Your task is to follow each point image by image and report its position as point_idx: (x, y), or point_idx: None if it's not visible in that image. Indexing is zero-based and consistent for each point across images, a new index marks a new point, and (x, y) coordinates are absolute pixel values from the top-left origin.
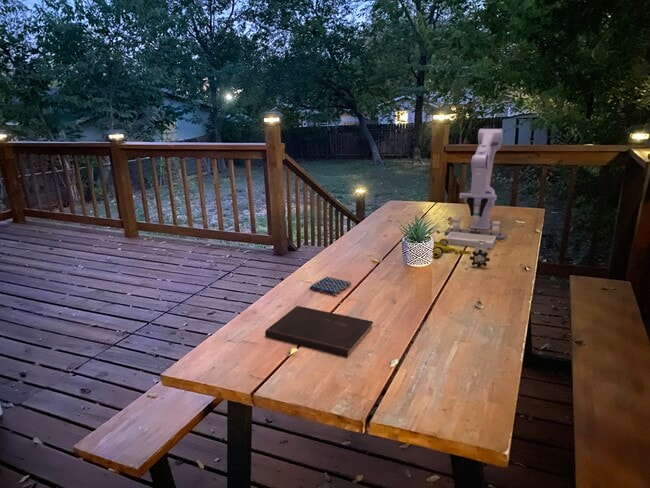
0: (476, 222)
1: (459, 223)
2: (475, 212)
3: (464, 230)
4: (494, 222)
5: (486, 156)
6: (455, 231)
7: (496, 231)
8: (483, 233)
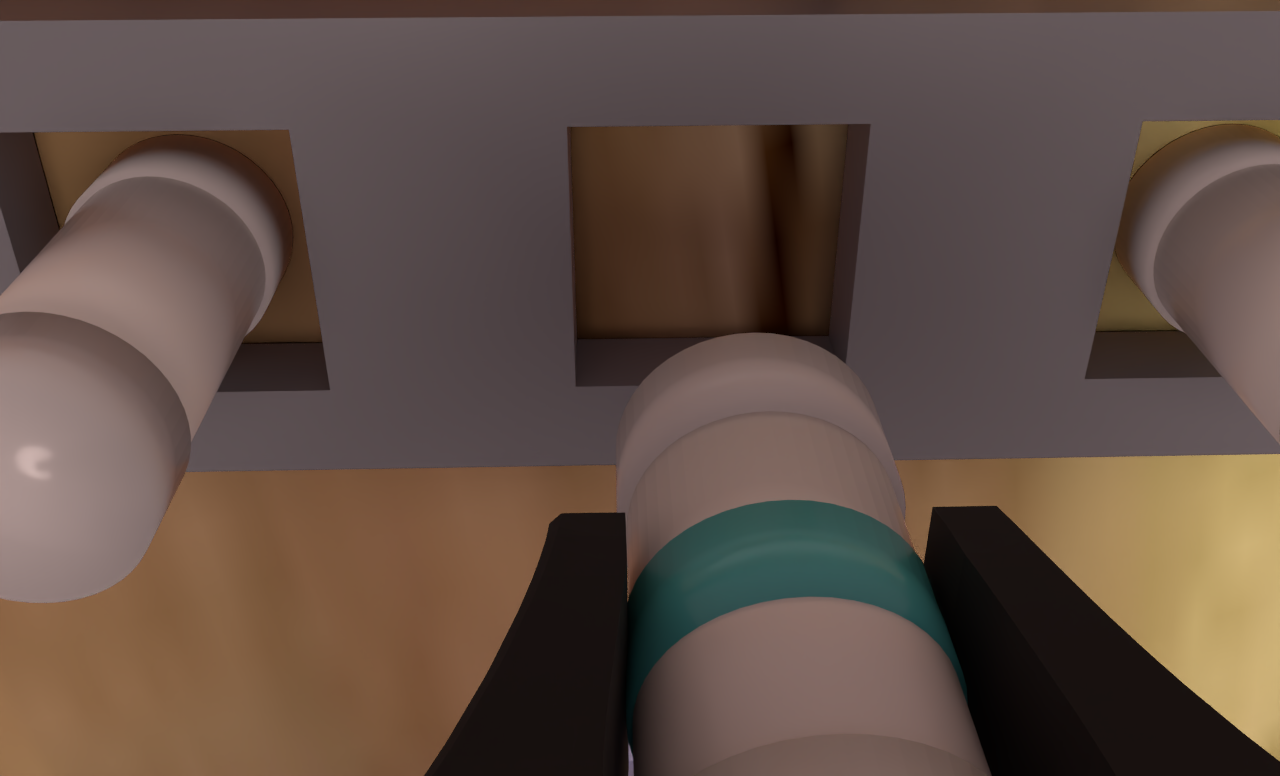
0: (712, 342)
1: (1274, 354)
2: (844, 608)
3: (1012, 351)
4: (21, 383)
5: None
6: (1269, 170)
7: (60, 240)
8: (479, 250)
